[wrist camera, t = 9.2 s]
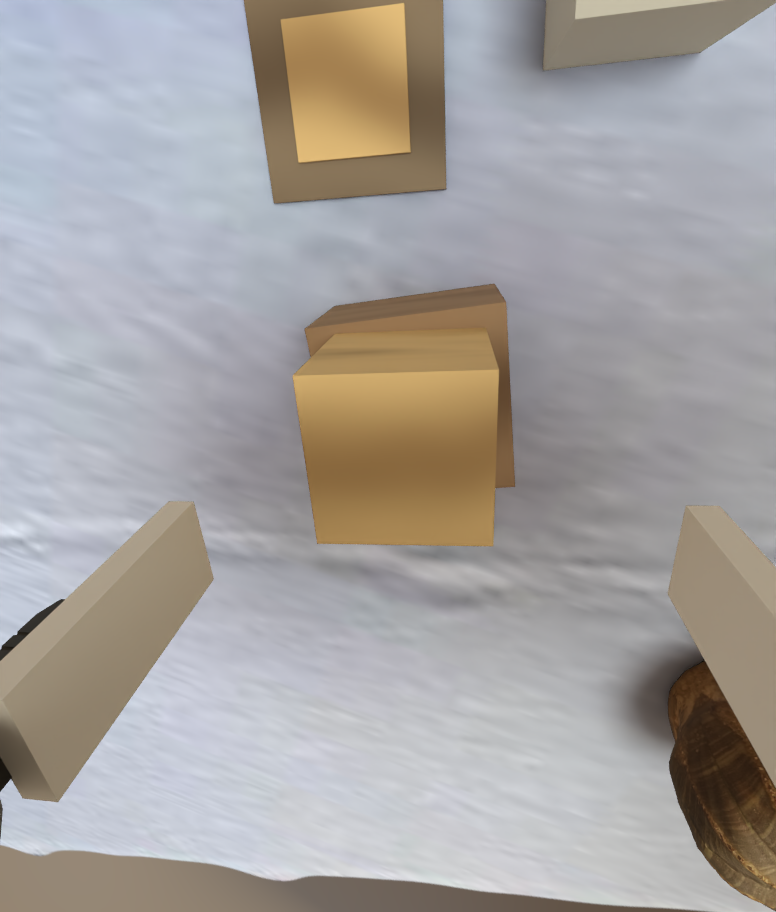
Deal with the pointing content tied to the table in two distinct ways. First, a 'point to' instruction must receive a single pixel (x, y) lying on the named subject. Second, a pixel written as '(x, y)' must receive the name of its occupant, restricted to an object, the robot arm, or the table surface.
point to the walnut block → (434, 314)
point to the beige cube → (637, 28)
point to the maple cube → (401, 437)
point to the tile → (350, 95)
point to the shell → (723, 786)
